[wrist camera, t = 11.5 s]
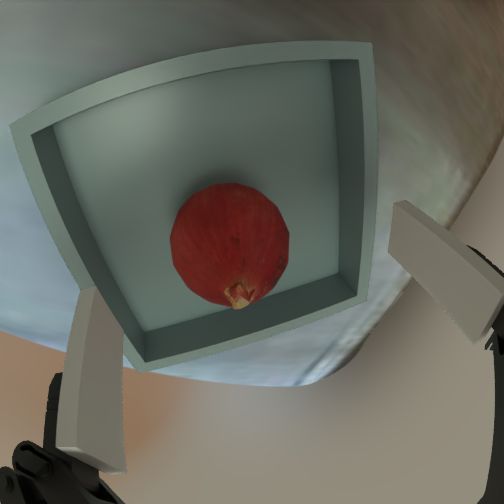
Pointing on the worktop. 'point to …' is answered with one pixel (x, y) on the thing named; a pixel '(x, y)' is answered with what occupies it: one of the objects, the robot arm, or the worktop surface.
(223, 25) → the worktop surface
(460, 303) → the robot arm
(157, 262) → the bin
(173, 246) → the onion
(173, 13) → the worktop surface
